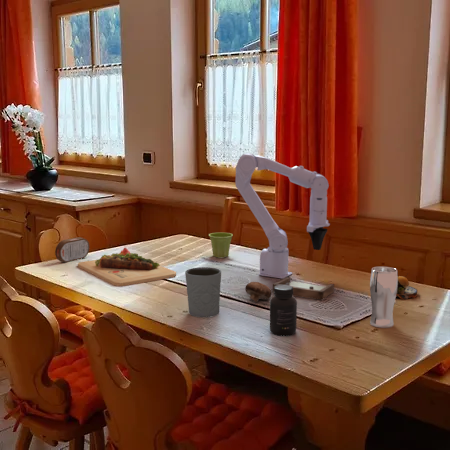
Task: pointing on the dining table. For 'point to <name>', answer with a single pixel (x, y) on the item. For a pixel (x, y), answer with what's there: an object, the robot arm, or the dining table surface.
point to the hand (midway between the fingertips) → (317, 249)
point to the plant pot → (220, 244)
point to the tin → (72, 249)
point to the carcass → (307, 290)
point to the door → (306, 285)
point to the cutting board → (126, 269)
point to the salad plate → (405, 288)
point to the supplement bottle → (283, 311)
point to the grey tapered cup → (203, 291)
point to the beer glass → (383, 296)
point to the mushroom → (258, 291)
